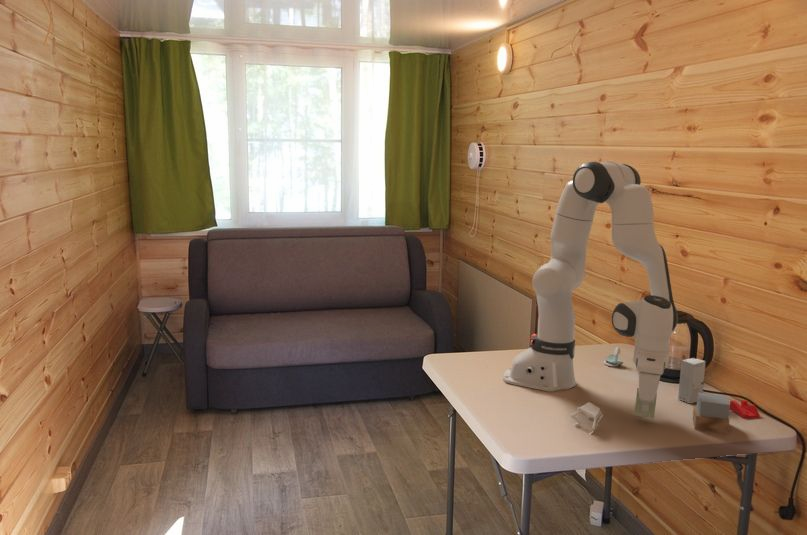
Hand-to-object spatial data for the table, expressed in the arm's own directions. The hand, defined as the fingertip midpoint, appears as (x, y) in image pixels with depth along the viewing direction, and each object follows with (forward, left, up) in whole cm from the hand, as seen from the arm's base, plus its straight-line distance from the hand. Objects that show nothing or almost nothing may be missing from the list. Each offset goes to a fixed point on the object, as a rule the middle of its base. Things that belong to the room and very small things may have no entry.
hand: (645, 406), depth 183 cm
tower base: (+17, +4, -5) cm, 18 cm away
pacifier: (-10, +48, -5) cm, 49 cm away
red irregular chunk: (+27, +17, -5) cm, 32 cm away
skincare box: (+13, +22, -5) cm, 26 cm away
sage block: (0, 0, -2) cm, 2 cm away
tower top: (+17, +4, -1) cm, 18 cm away
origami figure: (-14, -9, -5) cm, 17 cm away
